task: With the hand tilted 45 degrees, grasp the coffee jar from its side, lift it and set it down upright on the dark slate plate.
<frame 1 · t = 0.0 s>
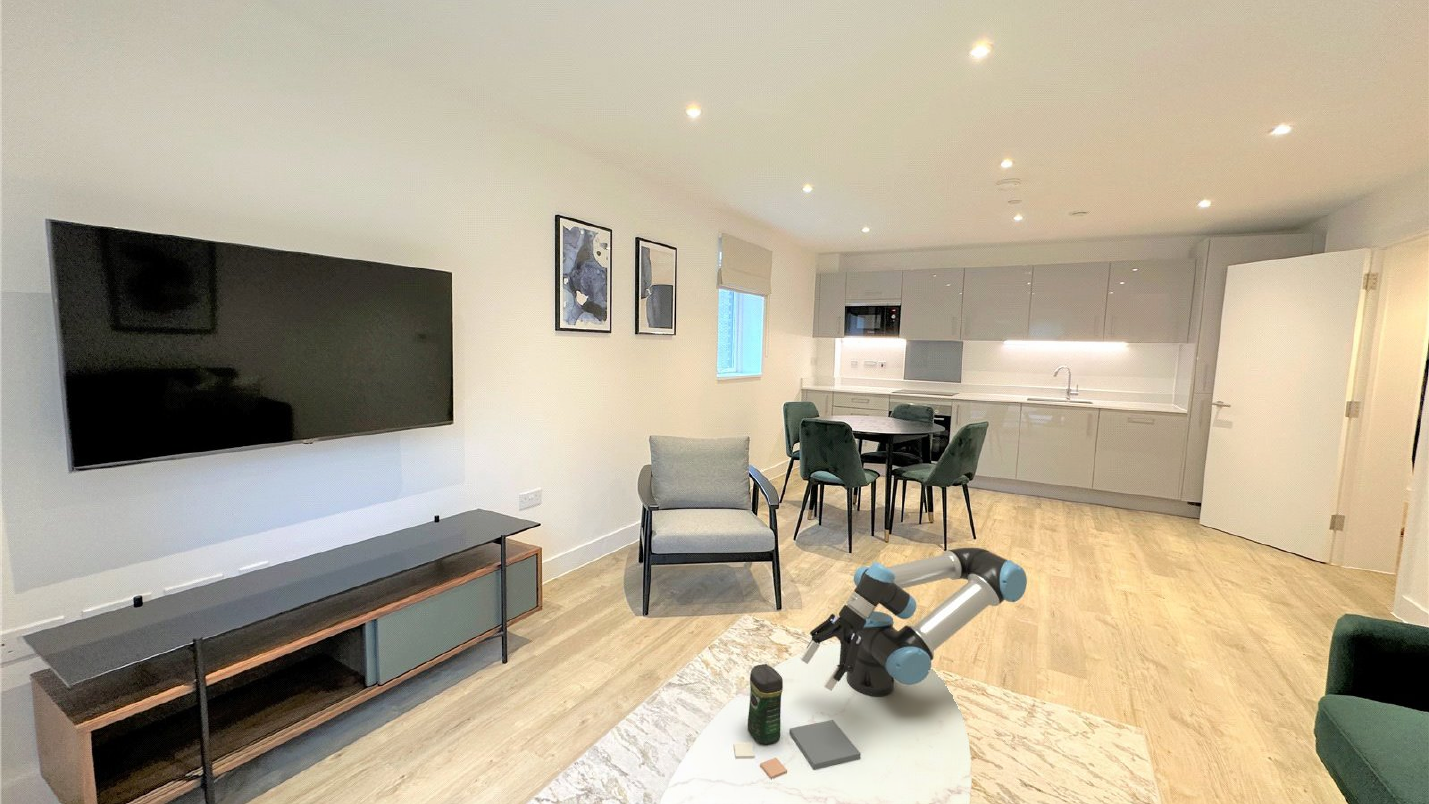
hand: (814, 674, 159), 15 cm above the table, tool tilted 35°, fingers open, 13 cm apart
tile a: (773, 771, 142), on the table
tile b: (743, 753, 148), on the table
slate plate: (823, 745, 151), on the table
coffee jar: (763, 734, 155), on the table
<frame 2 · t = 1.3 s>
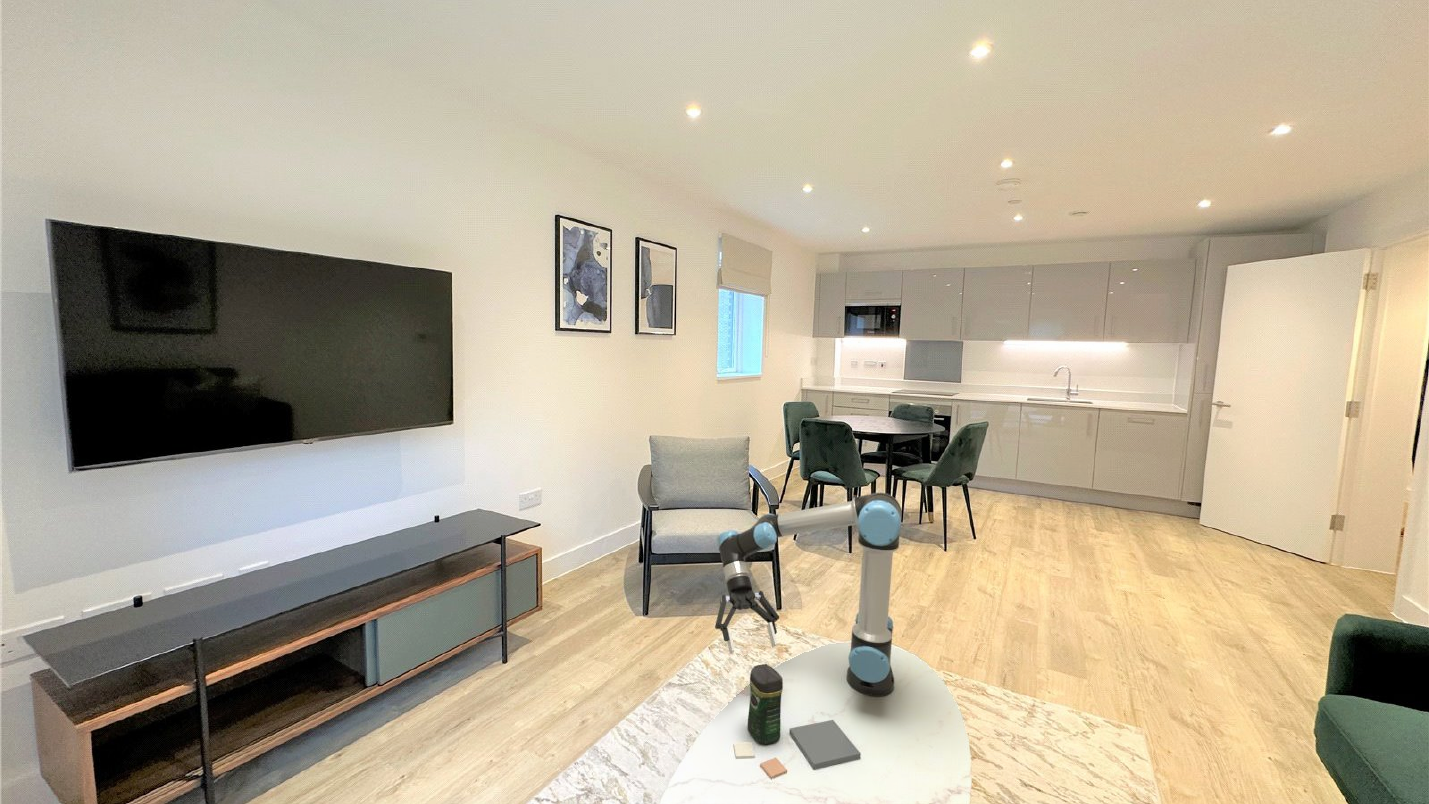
hand: (753, 649, 162), 20 cm above the table, tool tilted 45°, fingers open, 13 cm apart
nothing on the table moved.
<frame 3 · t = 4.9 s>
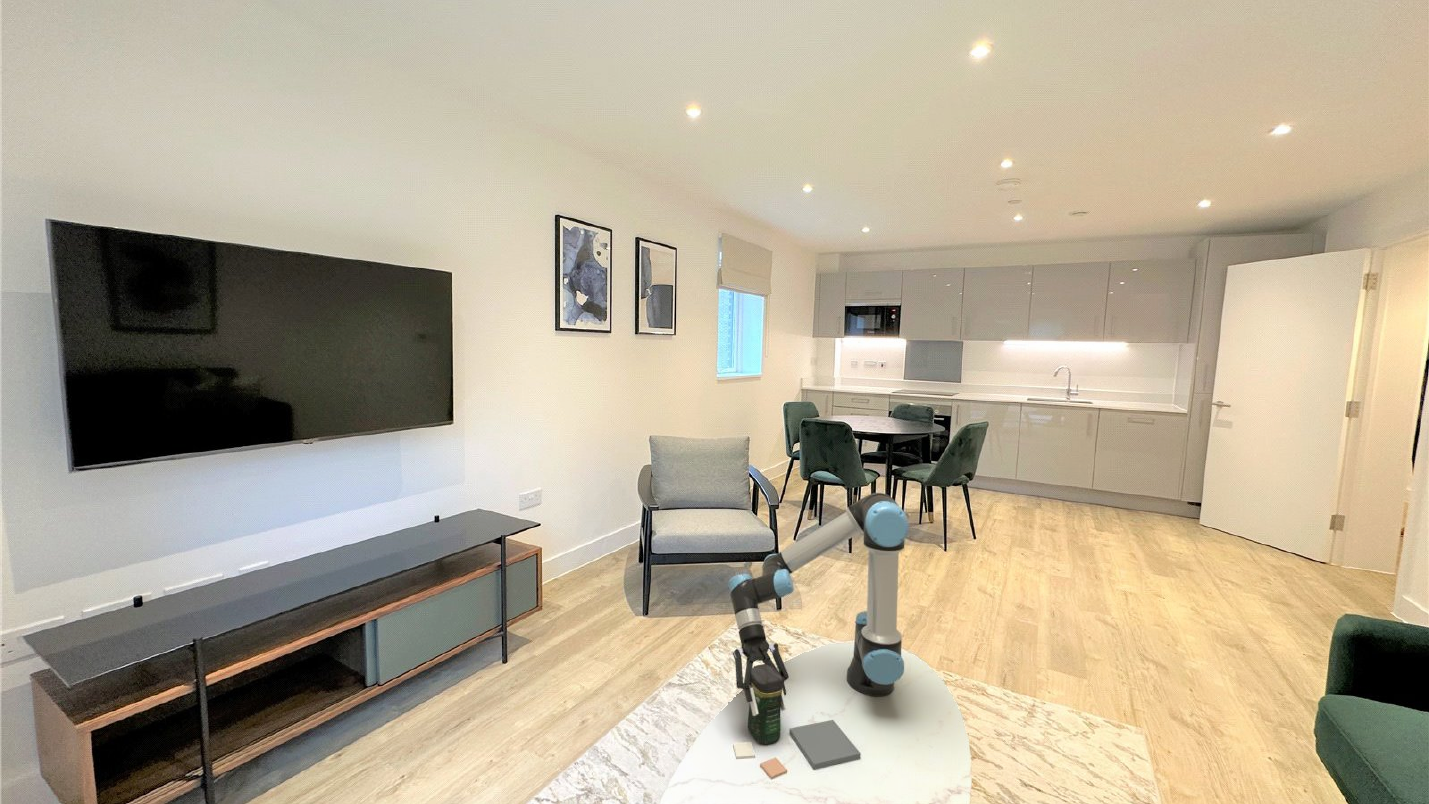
hand: (770, 712, 151), 9 cm above the table, tool tilted 45°, fingers closed on coffee jar, 8 cm apart
coffee jar: (763, 734, 155), on the table, touching gripper
everything else where it was.
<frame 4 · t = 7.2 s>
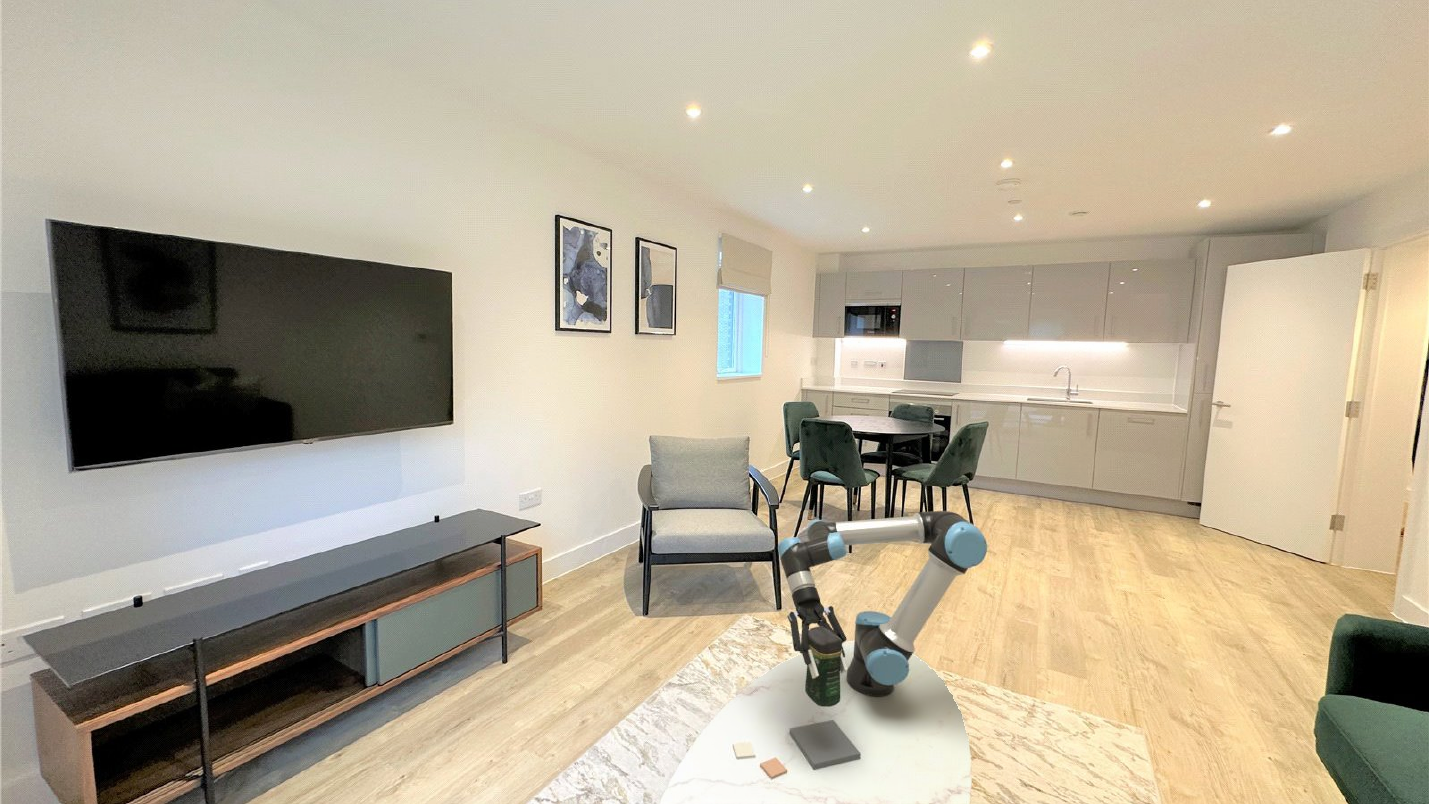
hand: (830, 674, 147), 22 cm above the table, tool tilted 45°, fingers closed on coffee jar, 8 cm apart
coffee jar: (822, 698, 151), point 14 cm above the table, touching gripper
everything else where it was.
when the fingers open (12 cm above the table, at t = 9.8 s): coffee jar drops 1 cm, resting on slate plate.
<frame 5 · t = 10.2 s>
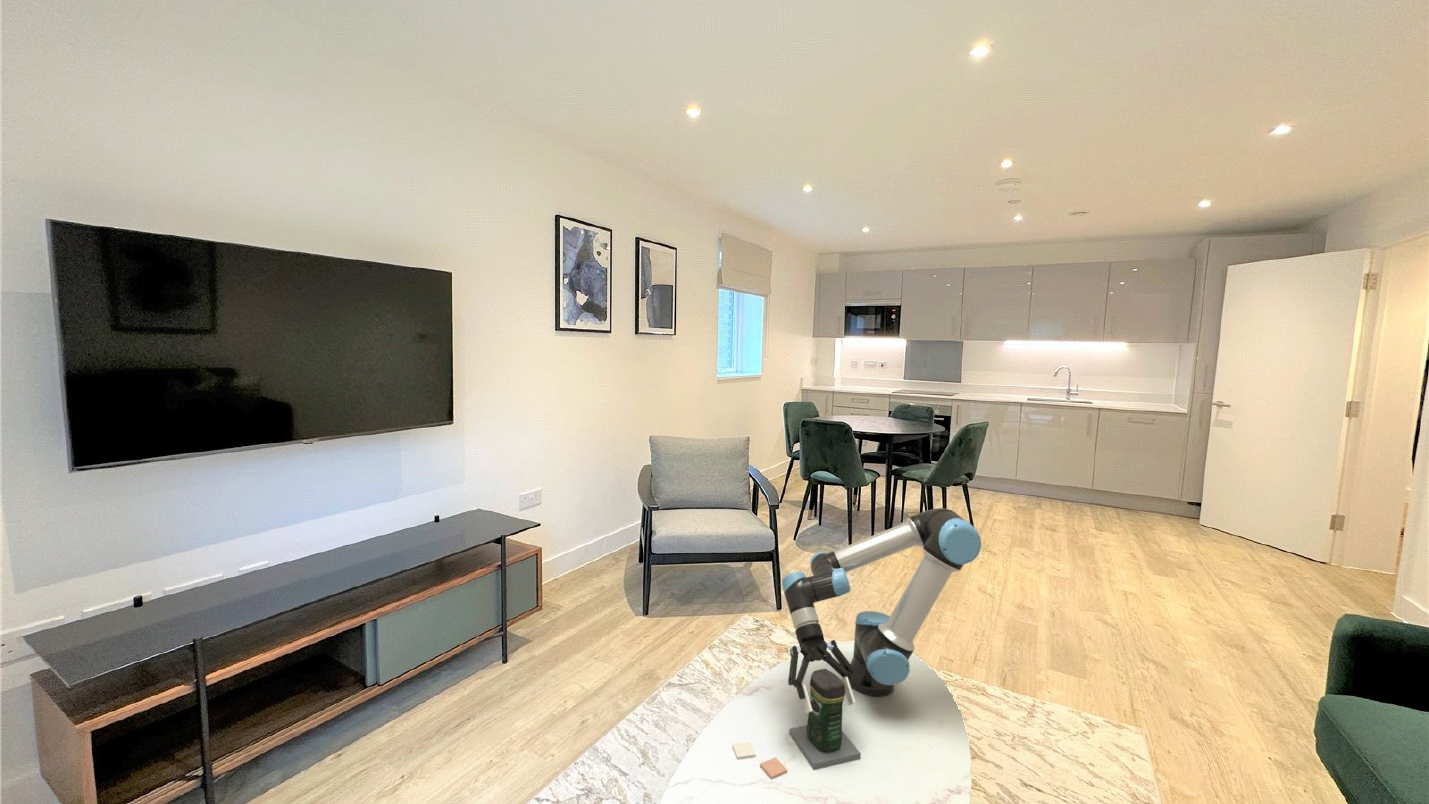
hand: (831, 708, 148), 13 cm above the table, tool tilted 45°, fingers open, 12 cm apart
coffee jar: (823, 741, 151), point 1 cm above the table, touching slate plate
everything else where it was.
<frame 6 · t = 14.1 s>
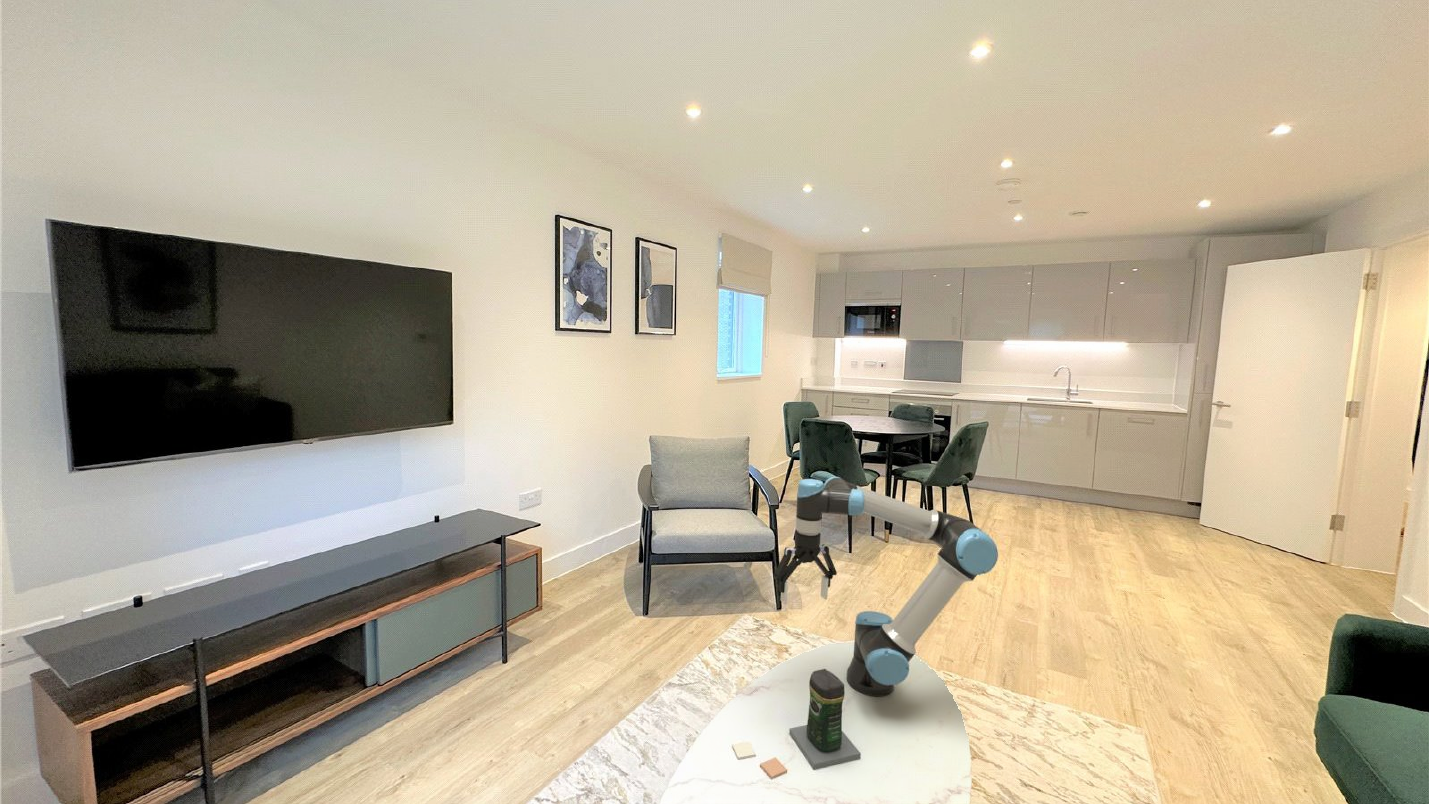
hand: (804, 600, 167), 33 cm above the table, tool pointing down, fingers open, 13 cm apart
nothing on the table moved.
at the end: coffee jar inside the target area on the slate plate (0.1 cm from its centre), point 1.3 cm above the slate plate's base; coffee jar tilted 0°; the gripper is holding nothing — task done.
